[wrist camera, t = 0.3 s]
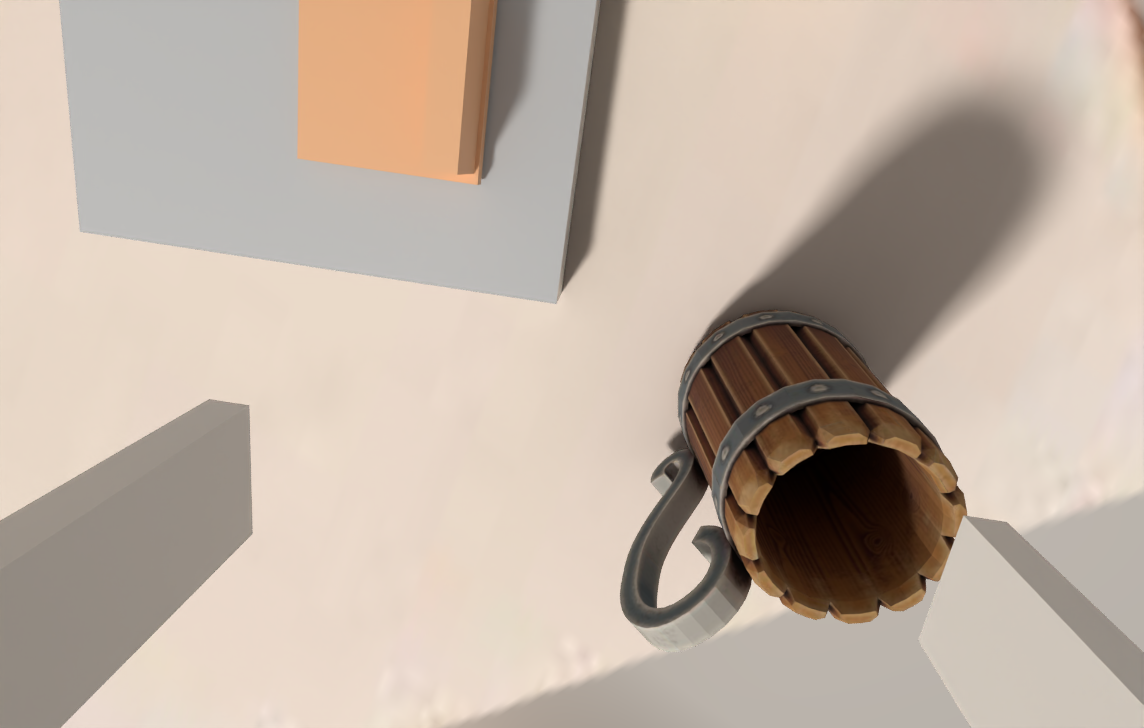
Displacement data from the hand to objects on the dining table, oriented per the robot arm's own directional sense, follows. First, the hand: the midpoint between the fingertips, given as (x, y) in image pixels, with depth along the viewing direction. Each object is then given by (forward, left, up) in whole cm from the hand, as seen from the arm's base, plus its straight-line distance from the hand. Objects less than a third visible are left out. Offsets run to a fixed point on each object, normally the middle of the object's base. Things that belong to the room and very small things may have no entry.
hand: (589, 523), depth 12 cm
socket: (-9, -16, -26) cm, 32 cm away
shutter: (-9, -12, -23) cm, 27 cm away
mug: (+7, +8, -26) cm, 28 cm away
